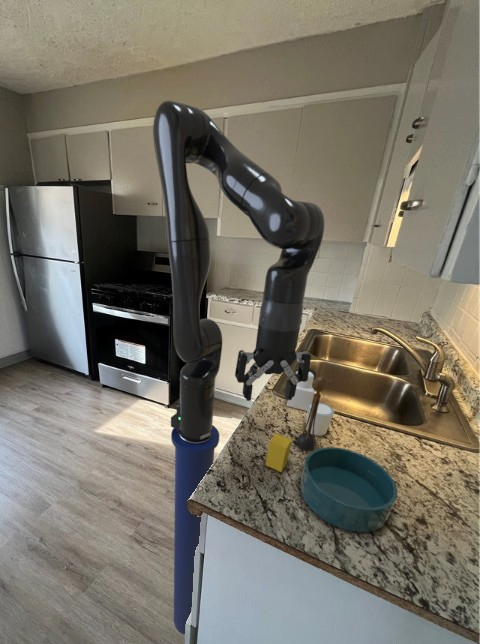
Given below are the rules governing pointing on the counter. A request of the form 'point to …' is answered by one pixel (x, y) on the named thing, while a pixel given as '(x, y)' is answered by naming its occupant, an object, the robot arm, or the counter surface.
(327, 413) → the white short cylinder
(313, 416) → the wooden tabletop sculpture
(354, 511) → the bowl
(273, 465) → the sponge
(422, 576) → the counter surface
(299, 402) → the medicine bottle
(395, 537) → the counter surface
